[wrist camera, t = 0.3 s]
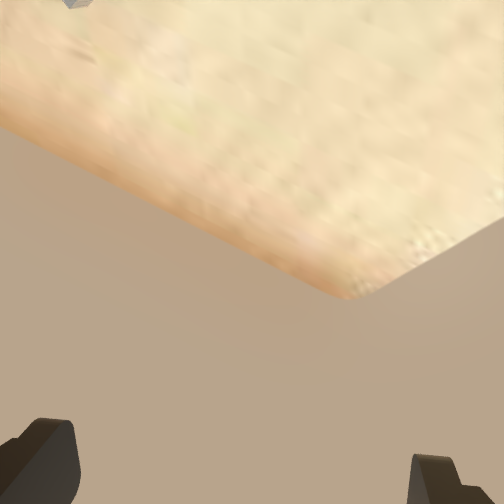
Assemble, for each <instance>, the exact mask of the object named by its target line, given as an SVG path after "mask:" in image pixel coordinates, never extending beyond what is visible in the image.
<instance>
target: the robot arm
mask: <svg viewBox="0 0 504 504" xmlns="http://www.w3.org/2000/svg"><path fill="white" fill-rule="evenodd" d="M80 470H81V469H80V463H79V457H78V451H77V445H76V439H75V433H74V427H73V424H72V423H71V422H70V421H69V420H59V419H49V418H38V419H36V420H34V421H33V422H32V423H31V424H30V425H29V427H28V428H27V429H26V430H25V431H24V432H23V433H22V434H21V435H20V436H19V437H18V438H12V439H10V440H9V441H7V442H6V443H4V444H2V445H1V446H0V504H71V502H72V501H73V499H74V497H75V495H76V493H77V490H78V487H79V483H80V477H81V471H80ZM407 504H495V503H494V502H493V501H492V500H491V499H490V498H489V497H488V496H487V495H486V493H485V492H484V491H483V490H482V489H481V488H480V487H477V486H467V485H462V484H461V482H460V479H459V476H458V473H457V471H456V468H455V466H454V463H453V461H452V459H451V458H450V457H443V456H433V455H422V454H414V455H413V458H412V464H411V472H410V481H409V489H408V498H407Z"/></svg>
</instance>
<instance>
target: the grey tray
mask: <svg viewBox="0 0 504 504" xmlns="http://www.w3.org/2000/svg"><path fill="white" fill-rule="evenodd" d="M62 1H63V2H64V3H65V4H66V6H67V7H68V8H69V9H74V8H79V7H85V6H88V5H89V4H90V3H91V2H92V0H62Z"/></svg>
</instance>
